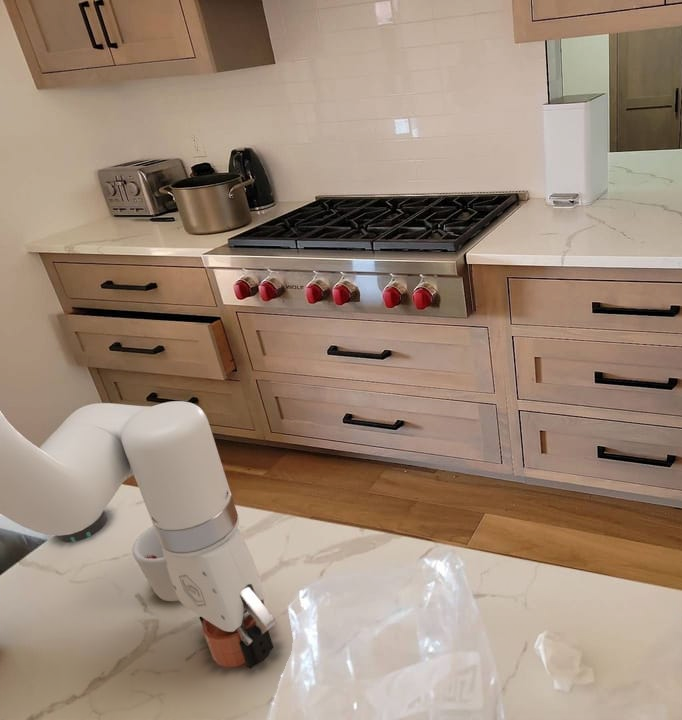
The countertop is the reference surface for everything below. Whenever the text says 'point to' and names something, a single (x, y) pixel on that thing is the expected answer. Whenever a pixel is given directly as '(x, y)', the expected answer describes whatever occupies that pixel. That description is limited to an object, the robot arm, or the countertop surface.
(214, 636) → the terracotta plant pot
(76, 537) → the scale
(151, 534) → the cup
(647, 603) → the countertop surface
